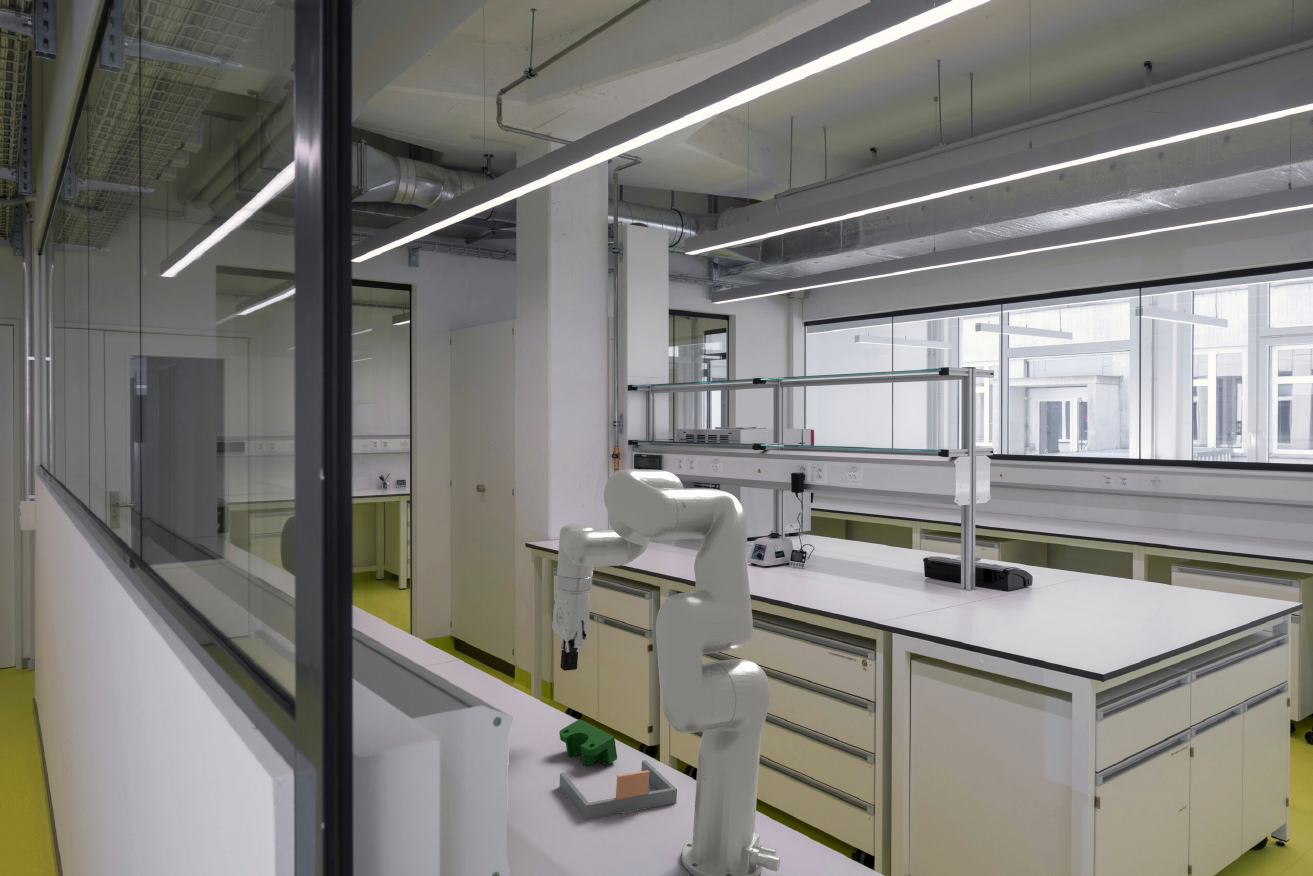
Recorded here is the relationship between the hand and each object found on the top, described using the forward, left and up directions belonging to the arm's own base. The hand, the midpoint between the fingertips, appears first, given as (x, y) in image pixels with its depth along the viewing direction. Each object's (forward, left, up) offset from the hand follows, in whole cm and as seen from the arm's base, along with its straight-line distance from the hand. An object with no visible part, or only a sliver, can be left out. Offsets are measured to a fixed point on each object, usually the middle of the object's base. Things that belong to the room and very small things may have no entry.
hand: (568, 668), depth 166 cm
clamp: (-9, +7, -15) cm, 19 cm away
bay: (-21, +17, -15) cm, 31 cm away
